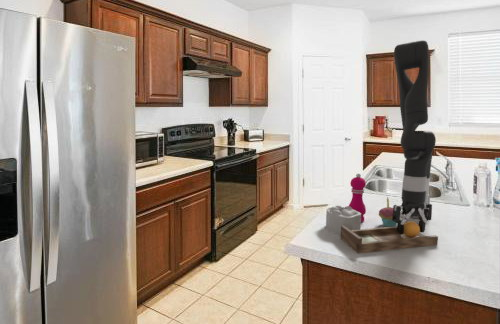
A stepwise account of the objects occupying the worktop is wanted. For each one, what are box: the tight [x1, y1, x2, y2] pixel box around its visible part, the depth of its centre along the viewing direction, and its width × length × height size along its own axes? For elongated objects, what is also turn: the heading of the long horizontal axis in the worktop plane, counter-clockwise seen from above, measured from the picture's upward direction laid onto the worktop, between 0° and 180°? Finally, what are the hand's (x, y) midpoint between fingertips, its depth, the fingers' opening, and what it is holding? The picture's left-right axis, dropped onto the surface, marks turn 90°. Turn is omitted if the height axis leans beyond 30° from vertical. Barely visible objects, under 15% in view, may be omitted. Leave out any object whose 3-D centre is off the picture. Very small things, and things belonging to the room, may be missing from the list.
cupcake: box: [378, 196, 401, 227], centre depth 132 cm, size 9×8×12 cm
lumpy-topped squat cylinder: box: [325, 205, 362, 236], centre depth 128 cm, size 10×13×9 cm
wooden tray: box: [340, 225, 439, 254], centre depth 116 cm, size 30×12×5 cm, turn 102°
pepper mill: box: [348, 173, 367, 223], centre depth 137 cm, size 7×7×20 cm
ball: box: [404, 220, 421, 237], centre depth 117 cm, size 6×6×6 cm
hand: (410, 232), depth 117 cm, fingers open, 8 cm apart
